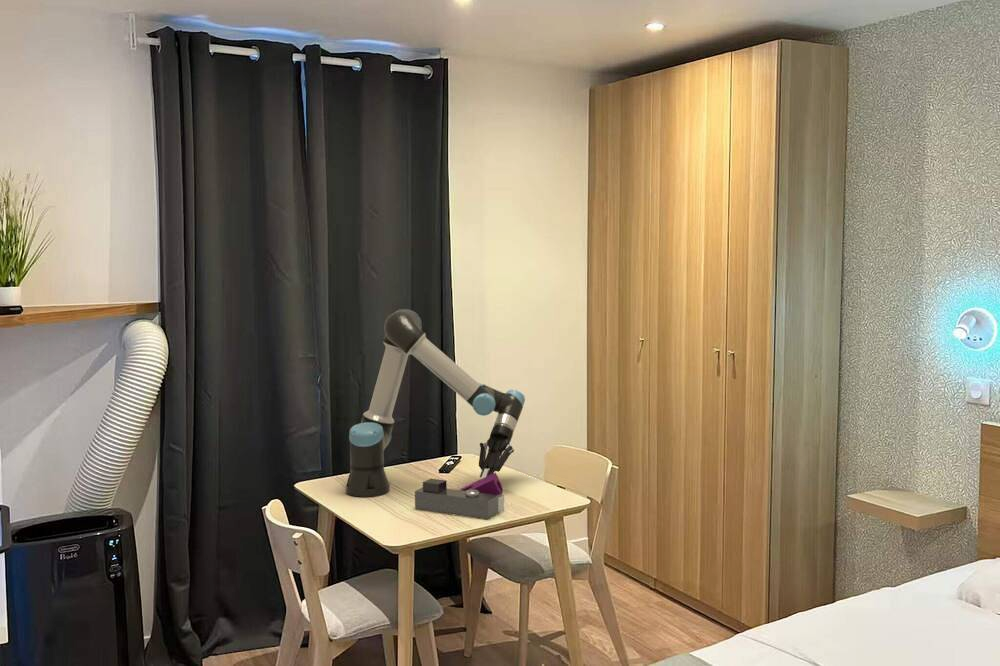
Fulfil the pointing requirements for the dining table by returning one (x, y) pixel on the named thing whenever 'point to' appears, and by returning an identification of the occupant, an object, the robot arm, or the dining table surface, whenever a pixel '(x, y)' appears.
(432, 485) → the block
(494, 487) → the mounting bracket
